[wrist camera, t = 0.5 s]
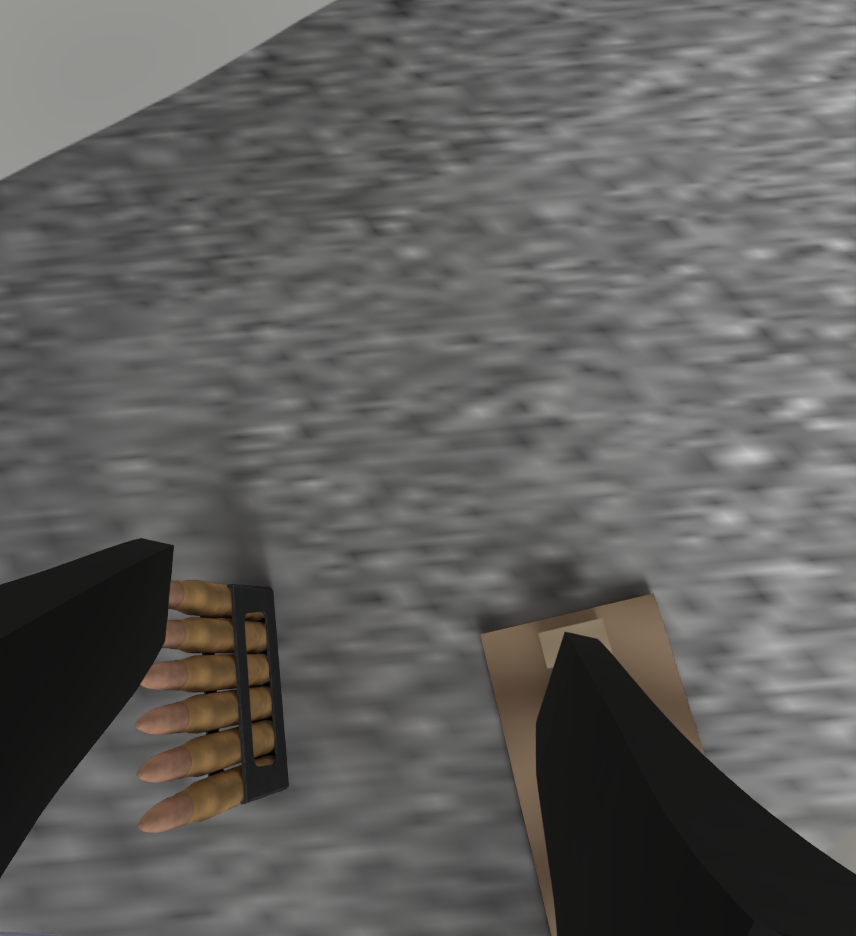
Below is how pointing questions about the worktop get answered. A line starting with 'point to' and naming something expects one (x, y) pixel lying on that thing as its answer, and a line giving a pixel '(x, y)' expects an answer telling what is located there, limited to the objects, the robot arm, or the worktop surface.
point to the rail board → (527, 676)
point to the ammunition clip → (218, 704)
